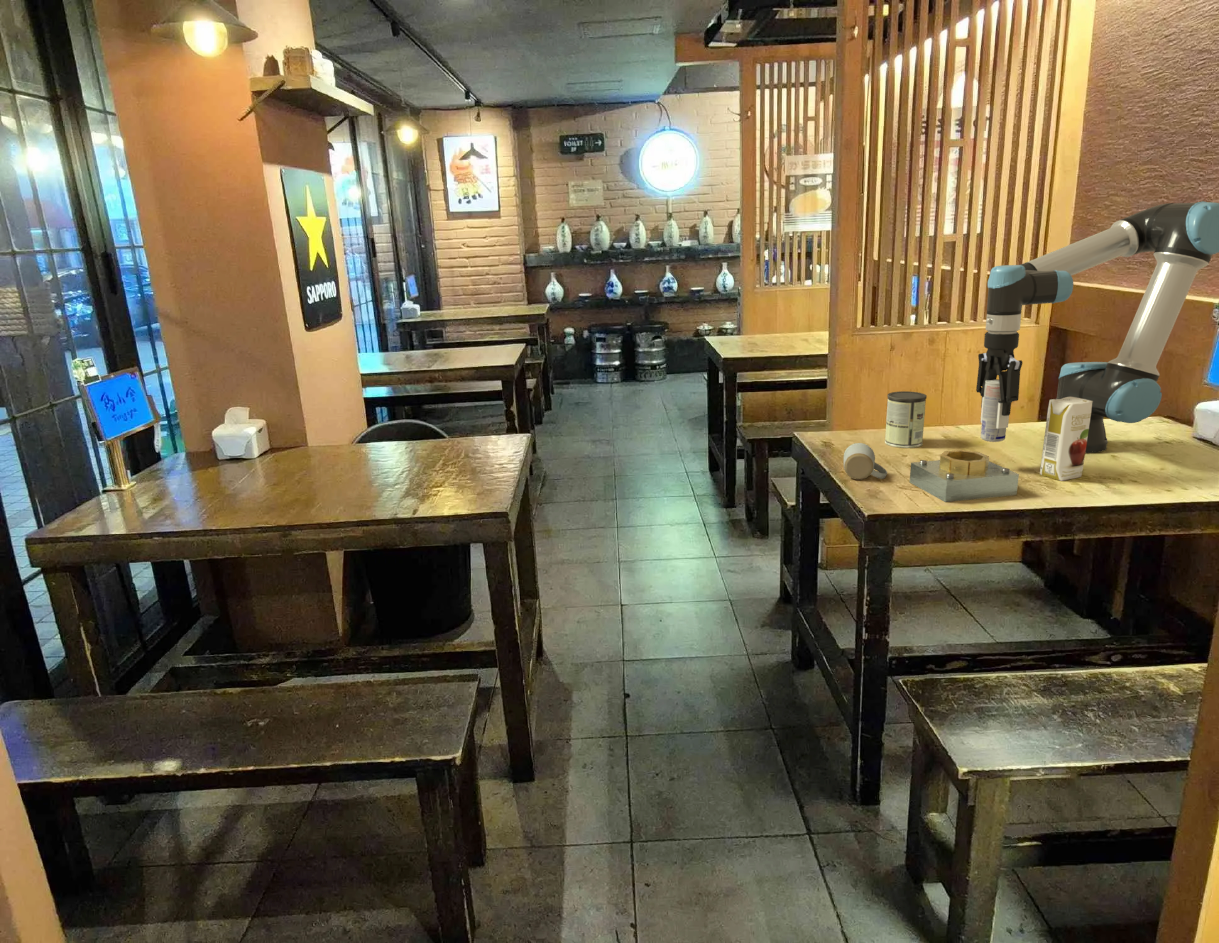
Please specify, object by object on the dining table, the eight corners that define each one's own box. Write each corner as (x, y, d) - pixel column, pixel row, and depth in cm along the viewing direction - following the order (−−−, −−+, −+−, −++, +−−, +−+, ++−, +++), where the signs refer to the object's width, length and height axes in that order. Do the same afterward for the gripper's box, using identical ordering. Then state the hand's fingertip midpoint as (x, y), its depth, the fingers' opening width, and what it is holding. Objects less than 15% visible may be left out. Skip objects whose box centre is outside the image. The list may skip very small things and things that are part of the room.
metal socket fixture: (976, 476, 200) (979, 444, 197) (1016, 494, 186) (1020, 461, 183) (909, 482, 197) (912, 450, 194) (945, 502, 182) (948, 468, 180)
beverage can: (1007, 442, 200) (1013, 382, 195) (983, 442, 201) (988, 383, 196) (1001, 436, 205) (1007, 378, 200) (978, 436, 206) (982, 378, 201)
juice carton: (1034, 474, 199) (1044, 399, 194) (1059, 469, 203) (1069, 395, 197) (1061, 482, 193) (1072, 404, 187) (1086, 477, 196) (1098, 400, 190)
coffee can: (889, 437, 237) (892, 389, 233) (926, 441, 231) (930, 392, 227) (879, 445, 229) (883, 396, 224) (917, 450, 223) (922, 399, 219)
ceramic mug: (842, 480, 200) (844, 450, 198) (842, 470, 208) (844, 441, 205) (887, 483, 197) (890, 453, 195) (885, 473, 205) (888, 444, 202)
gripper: (964, 328, 203) (958, 418, 210) (1013, 337, 185) (1004, 435, 192) (991, 325, 204) (984, 415, 211) (1042, 335, 187) (1032, 432, 193)
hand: (994, 424), depth 202 cm, fingers closed on beverage can, 5 cm apart
